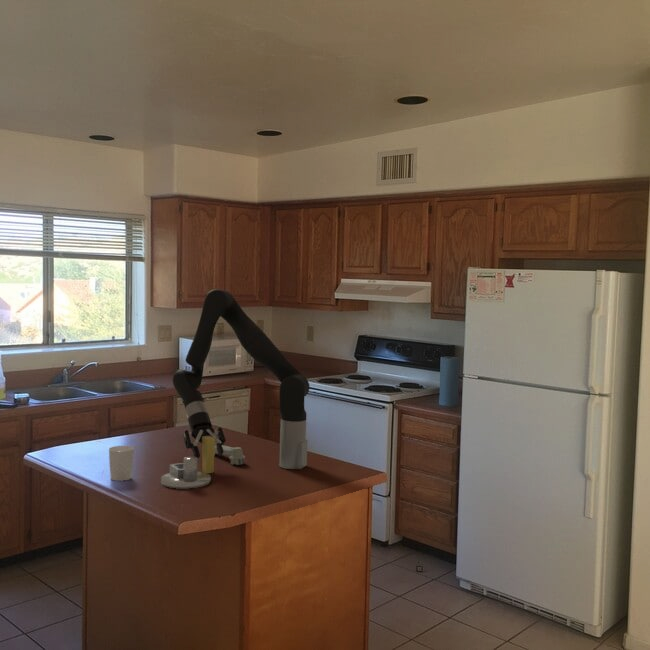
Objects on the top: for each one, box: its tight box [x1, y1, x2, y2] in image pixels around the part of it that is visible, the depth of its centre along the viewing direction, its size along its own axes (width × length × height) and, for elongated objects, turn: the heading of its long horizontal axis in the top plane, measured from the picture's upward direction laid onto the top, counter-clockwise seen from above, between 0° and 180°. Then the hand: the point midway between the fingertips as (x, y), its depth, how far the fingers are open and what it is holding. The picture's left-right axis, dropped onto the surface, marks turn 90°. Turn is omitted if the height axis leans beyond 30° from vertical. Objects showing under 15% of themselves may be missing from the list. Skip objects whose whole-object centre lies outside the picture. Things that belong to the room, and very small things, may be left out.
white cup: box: [108, 445, 135, 482], centre depth 229 cm, size 8×8×10 cm
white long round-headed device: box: [215, 445, 246, 466], centre depth 260 cm, size 5×7×25 cm
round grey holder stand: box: [160, 456, 212, 490], centre depth 228 cm, size 16×16×9 cm
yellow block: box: [201, 436, 216, 474], centre depth 241 cm, size 5×3×12 cm, turn 32°
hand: (209, 456), depth 239 cm, fingers open, 8 cm apart
